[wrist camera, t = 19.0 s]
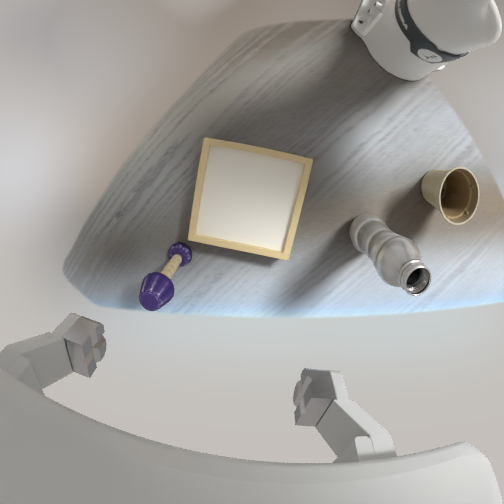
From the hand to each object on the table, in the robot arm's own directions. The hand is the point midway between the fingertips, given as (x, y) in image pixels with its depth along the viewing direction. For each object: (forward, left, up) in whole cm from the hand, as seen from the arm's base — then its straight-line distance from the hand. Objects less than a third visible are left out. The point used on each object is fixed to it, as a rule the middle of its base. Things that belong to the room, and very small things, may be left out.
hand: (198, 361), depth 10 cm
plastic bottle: (+1, +20, -37) cm, 42 cm away
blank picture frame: (0, 0, -37) cm, 37 cm away
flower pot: (-10, +32, -37) cm, 50 cm away
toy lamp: (+12, -9, -37) cm, 40 cm away
